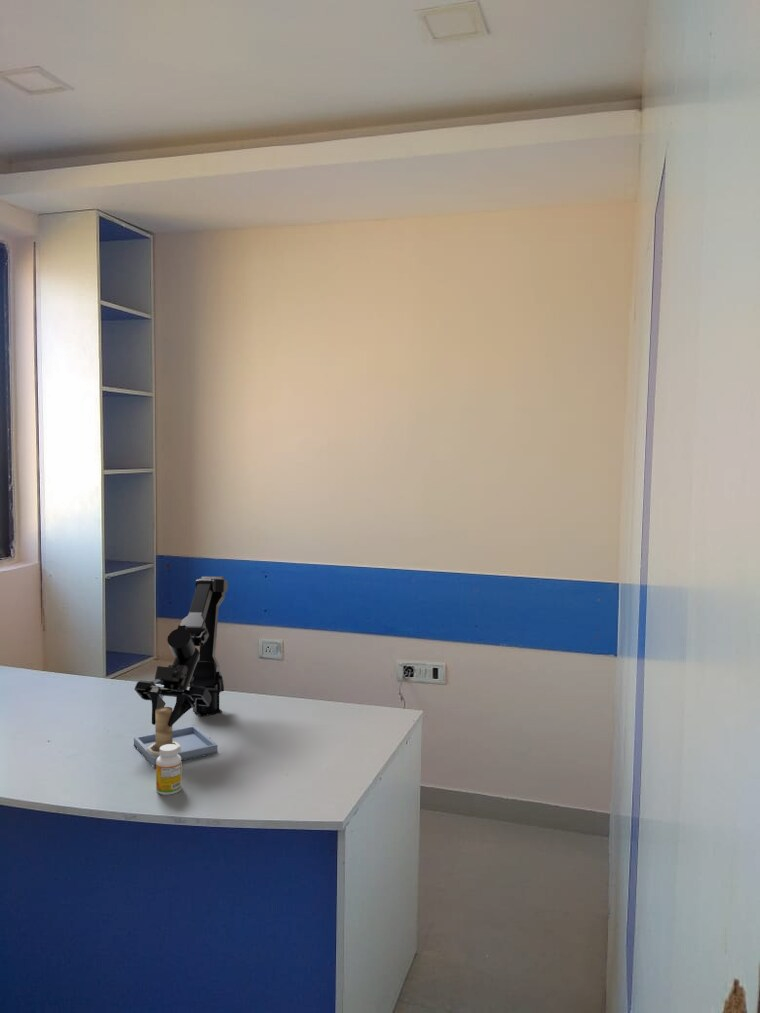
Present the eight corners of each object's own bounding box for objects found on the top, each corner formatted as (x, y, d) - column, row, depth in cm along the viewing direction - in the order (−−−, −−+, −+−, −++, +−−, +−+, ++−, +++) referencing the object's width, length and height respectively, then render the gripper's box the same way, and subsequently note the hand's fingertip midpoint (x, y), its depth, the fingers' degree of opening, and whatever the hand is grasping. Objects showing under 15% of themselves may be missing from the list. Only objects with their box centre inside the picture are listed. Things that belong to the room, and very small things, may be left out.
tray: (194, 732, 202) (194, 723, 202) (217, 752, 189) (217, 742, 189) (133, 744, 193) (133, 735, 193) (153, 766, 180) (153, 756, 180)
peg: (166, 744, 189) (165, 705, 188) (175, 749, 186) (175, 709, 185) (152, 749, 186) (151, 709, 185) (162, 754, 183) (161, 713, 182)
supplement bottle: (159, 785, 170) (158, 742, 170) (183, 784, 171) (183, 742, 170) (153, 795, 165) (153, 752, 164) (179, 795, 165) (179, 751, 165)
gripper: (138, 648, 190) (113, 706, 180) (206, 654, 186) (184, 713, 176) (154, 670, 198) (131, 726, 189) (220, 676, 194) (200, 734, 184)
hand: (161, 725), depth 184 cm, fingers closed on peg, 4 cm apart
